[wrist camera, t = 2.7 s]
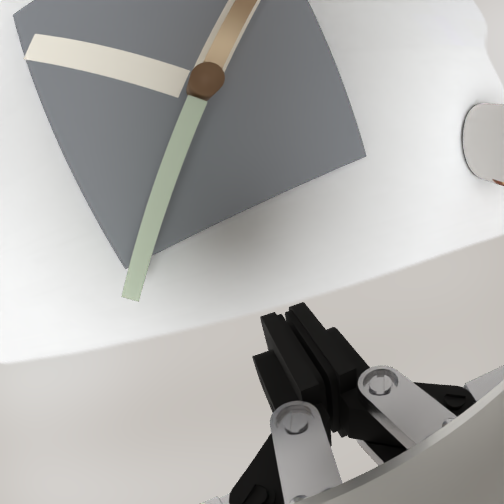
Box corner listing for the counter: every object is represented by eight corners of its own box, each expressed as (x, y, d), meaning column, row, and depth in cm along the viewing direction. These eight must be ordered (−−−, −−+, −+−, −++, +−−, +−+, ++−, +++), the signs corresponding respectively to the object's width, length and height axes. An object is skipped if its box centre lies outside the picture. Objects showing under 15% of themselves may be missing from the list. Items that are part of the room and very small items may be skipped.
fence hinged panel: (185, 101, 16) (188, 94, 13) (202, 107, 16) (207, 101, 14) (127, 272, 19) (121, 297, 16) (142, 276, 19) (138, 301, 16)
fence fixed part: (247, -29, 14) (267, -62, 10) (269, -20, 15) (294, -51, 10) (182, 98, 17) (184, 87, 13) (206, 106, 17) (217, 98, 13)
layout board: (13, 17, 11) (11, 15, 11) (259, -78, 12) (261, -81, 12) (124, 267, 20) (123, 270, 19) (363, 155, 21) (366, 156, 20)
